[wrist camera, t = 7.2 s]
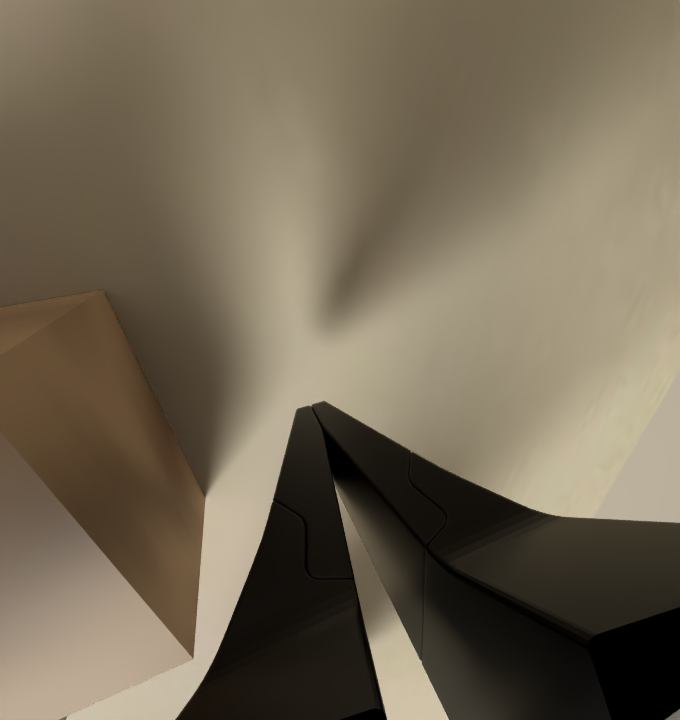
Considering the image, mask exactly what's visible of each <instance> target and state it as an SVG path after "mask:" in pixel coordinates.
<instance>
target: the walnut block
mask: <svg viewBox="0 0 680 720" xmlns="http://www.w3.org/2000/svg"><path fill="white" fill-rule="evenodd" d="M204 509H205V497H204V495H203V493H202V491H201V489H200V487H199V484H198V482H197V480H196V478H195V476H194V474H193V472H192V470H191V468H190V466H189V464H188V462H187V460H186V458H185V456H184V454H183V452H182V450H181V448H180V446H179V444H178V442H177V440H176V438H175V436H174V434H173V432H172V429H171V427H170V425H169V423H168V421H167V419H166V417H165V415H164V413H163V411H162V409H161V407H160V405H159V403H158V401H157V399H156V397H155V395H154V393H153V391H152V389H151V387H150V385H149V383H148V381H147V379H146V377H145V374H144V372H143V370H142V368H141V366H140V364H139V362H138V360H137V358H136V356H135V354H134V352H133V350H132V348H131V346H130V344H129V342H128V340H127V338H126V336H125V334H124V332H123V330H122V328H121V326H120V324H119V322H118V319H117V317H116V315H115V313H114V311H113V309H112V307H111V305H110V303H109V301H108V299H107V297H106V295H105V293H104V291H103V290H98V291H93V292H87V293H81V294H75V295H69V296H63V297H57V298H51V299H45V300H39V301H34V302H28V303H22V304H16V305H10V306H4V307H0V720H59V719H61V718H64V717H66V716H68V715H70V714H72V713H75V712H77V711H79V710H81V709H84V708H86V707H88V706H90V705H92V704H95V703H97V702H99V701H101V700H103V699H106V698H108V697H110V696H112V695H115V694H117V693H119V692H121V691H123V690H126V689H128V688H130V687H132V686H135V685H137V684H139V683H141V682H143V681H146V680H148V679H150V678H152V677H155V676H157V675H159V674H161V673H163V672H166V671H168V670H170V669H172V668H175V667H177V666H179V665H181V664H183V663H186V662H188V661H190V660H192V659H193V656H194V643H195V629H196V616H197V603H198V589H199V576H200V563H201V549H202V536H203V523H204Z"/></svg>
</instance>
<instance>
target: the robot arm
mask: <svg viewBox="0 0 680 720" xmlns="http://www.w3.org/2000/svg"><path fill="white" fill-rule="evenodd" d="M334 484H335V485H334ZM335 486H336V488H337V491H338V493H339V495H340V497H341V499H342V501H343V503H344V505H345V507H346V509H347V511H348V513H349V515H350V517H351V519H352V521H353V523H354V525H355V527H356V529H357V531H358V534H359V536H360V538H361V540H362V542H363V544H364V546H365V548H366V550H367V552H368V554H369V556H370V558H371V560H372V562H373V564H374V566H375V568H376V570H377V572H378V575H379V577H380V579H381V581H382V583H383V585H384V587H385V589H386V591H387V593H388V595H389V597H390V599H391V601H392V603H393V605H394V607H395V609H396V611H397V613H398V616H399V618H400V620H401V622H402V624H403V626H404V628H405V630H406V632H407V634H408V636H409V638H410V640H411V642H412V644H413V646H414V648H415V650H416V652H417V654H418V656H419V659H420V660H421V661H422V665H423V667H424V669H425V671H426V673H427V675H428V677H429V679H430V681H431V683H432V685H433V687H434V689H435V692H436V694H437V696H438V698H439V700H440V702H441V704H442V706H443V708H444V710H445V712H446V714H447V716H448V718H449V720H680V523H671V522H652V521H631V520H613V519H593V518H574V517H561V516H555V515H550V514H546V513H542V512H539V511H536V510H533V509H530V508H528V507H526V506H523V505H521V504H518V503H516V502H514V501H512V500H510V499H507V498H505V497H503V496H501V495H499V494H496V493H494V492H492V491H490V490H488V489H485V488H483V487H481V486H479V485H477V484H474V483H472V482H470V481H468V480H466V479H463V478H461V477H459V476H457V475H455V474H453V473H451V472H449V471H447V470H445V469H443V468H441V467H439V466H437V465H435V464H434V463H432V462H430V461H428V460H426V459H424V458H423V457H421V456H419V455H417V454H416V453H414V452H412V453H411V451H410V450H409V449H407V448H405V447H403V446H402V445H400V444H398V443H396V442H395V441H393V440H391V439H389V438H388V437H386V436H384V435H383V434H381V433H379V432H377V431H376V430H374V429H372V428H370V427H369V426H367V425H365V424H364V423H362V422H360V421H358V420H357V419H355V418H353V417H351V416H350V415H348V414H346V413H344V412H343V411H341V410H339V409H338V408H336V407H334V406H332V405H331V404H329V403H327V402H325V401H322V402H319V403H316V404H313V405H312V406H305V407H302V408H298V409H297V410H296V413H295V417H294V421H293V425H292V429H291V432H290V436H289V440H288V444H287V448H286V452H285V455H284V459H283V463H282V467H281V471H280V475H279V479H278V482H277V486H276V490H275V494H274V498H273V502H272V505H271V509H270V513H269V516H268V520H267V523H266V527H265V530H264V533H263V537H262V540H261V543H260V545H259V548H258V551H257V553H256V556H255V559H254V562H253V564H252V567H251V569H250V572H249V575H248V577H247V580H246V582H245V585H244V587H243V590H242V592H241V595H240V597H239V600H238V602H237V605H236V607H235V610H234V612H233V615H232V617H231V620H230V622H229V625H228V628H227V630H226V633H225V635H224V637H223V640H222V642H221V645H220V647H219V649H218V652H217V654H216V656H215V658H214V660H213V662H212V664H211V666H210V668H209V670H208V672H207V674H206V675H205V677H204V679H203V681H202V682H201V684H200V685H199V687H198V689H197V690H196V692H195V693H194V695H193V696H192V698H191V699H190V700H189V702H188V703H187V704H186V706H185V707H184V709H183V710H182V711H181V713H180V714H179V715H178V717H177V718H176V719H175V720H387V717H386V713H385V709H384V704H383V700H382V696H381V692H380V688H379V683H378V679H377V675H376V671H375V667H374V662H373V658H372V654H371V650H370V645H369V641H368V637H367V633H366V629H365V624H364V620H363V616H362V611H361V607H360V602H359V598H358V593H357V588H356V584H355V579H354V574H353V570H352V565H351V560H350V555H349V551H348V546H347V541H346V537H345V532H344V527H343V523H342V518H341V513H340V508H339V504H338V499H337V494H336V490H335Z"/></svg>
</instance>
